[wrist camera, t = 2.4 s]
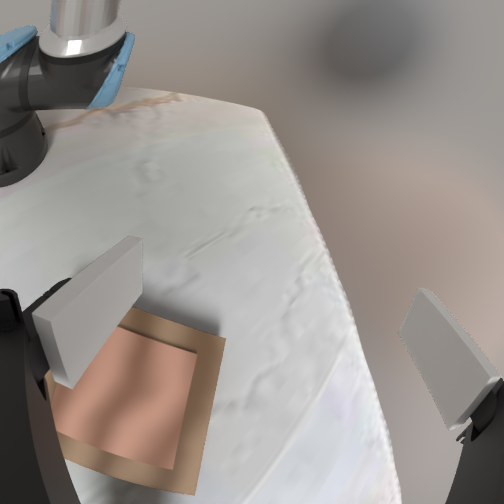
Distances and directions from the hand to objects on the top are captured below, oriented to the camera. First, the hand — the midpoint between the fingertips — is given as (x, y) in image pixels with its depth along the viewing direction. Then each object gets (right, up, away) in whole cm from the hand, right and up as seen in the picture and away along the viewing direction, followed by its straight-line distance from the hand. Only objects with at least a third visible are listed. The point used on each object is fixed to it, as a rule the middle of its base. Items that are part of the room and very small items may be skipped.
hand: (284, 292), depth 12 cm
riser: (-16, -14, +15) cm, 26 cm away
